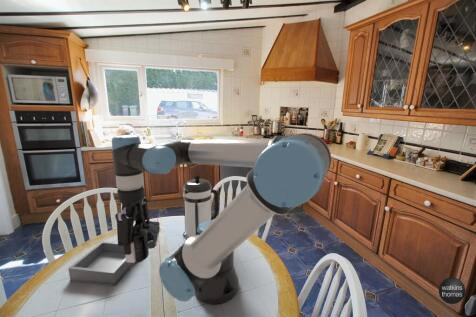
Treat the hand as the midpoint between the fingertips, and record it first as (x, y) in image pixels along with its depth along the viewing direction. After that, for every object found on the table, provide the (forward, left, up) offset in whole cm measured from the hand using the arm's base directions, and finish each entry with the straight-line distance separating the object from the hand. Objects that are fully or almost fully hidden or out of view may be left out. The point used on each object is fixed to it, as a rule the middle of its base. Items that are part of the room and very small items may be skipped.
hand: (137, 254), depth 76 cm
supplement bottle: (0, 0, -1) cm, 1 cm away
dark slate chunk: (+17, -31, -14) cm, 38 cm away
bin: (+18, -9, -14) cm, 24 cm away
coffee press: (-10, -37, -14) cm, 41 cm away
